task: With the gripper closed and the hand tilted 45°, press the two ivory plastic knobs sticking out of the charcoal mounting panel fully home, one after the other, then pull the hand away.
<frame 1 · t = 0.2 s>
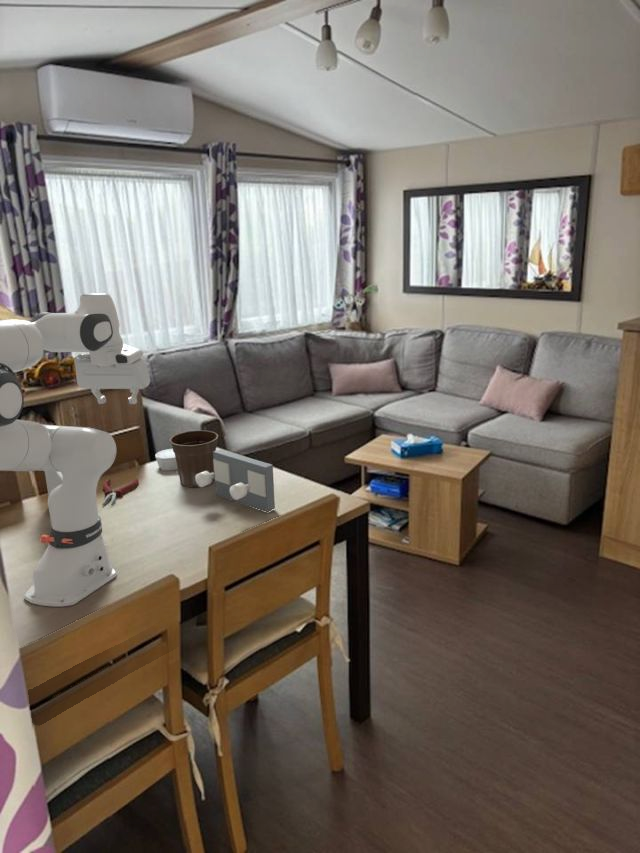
hand: (117, 403, 172), 39 cm above the table, tool pointing down, fingers open, 8 cm apart
knob left: (206, 477, 199), point 9 cm above the table, slide at 3.0 cm
knob right: (241, 489, 189), point 9 cm above the table, slide at 3.0 cm
mount: (241, 503, 201), on the table
plant pot: (197, 481, 220), on the table
pliers: (112, 495, 212), on the table
ramekin: (172, 467, 236), on the table
control panel: (69, 519, 194), on the table
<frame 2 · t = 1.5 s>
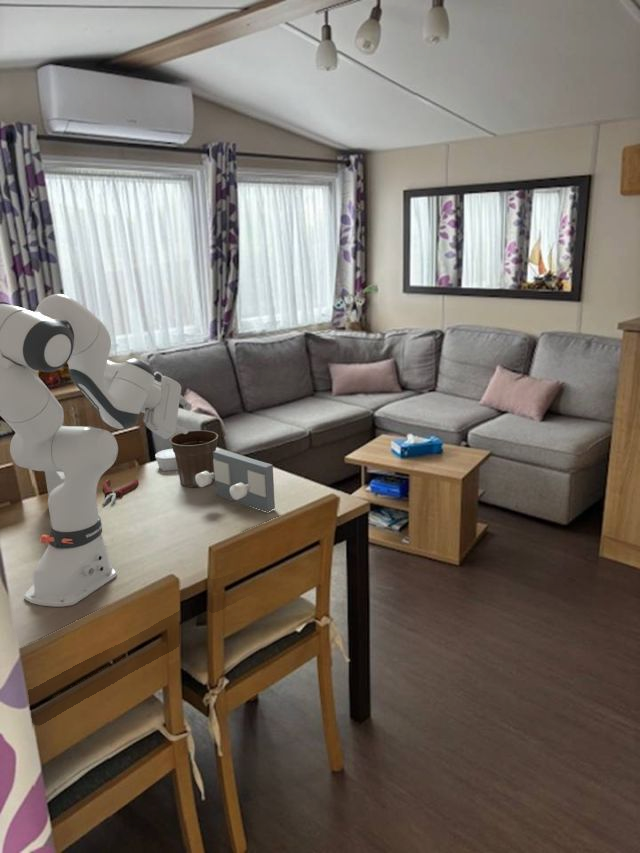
hand: (189, 419, 185), 30 cm above the table, tool tilted 55°, fingers open, 8 cm apart
nothing on the table moved.
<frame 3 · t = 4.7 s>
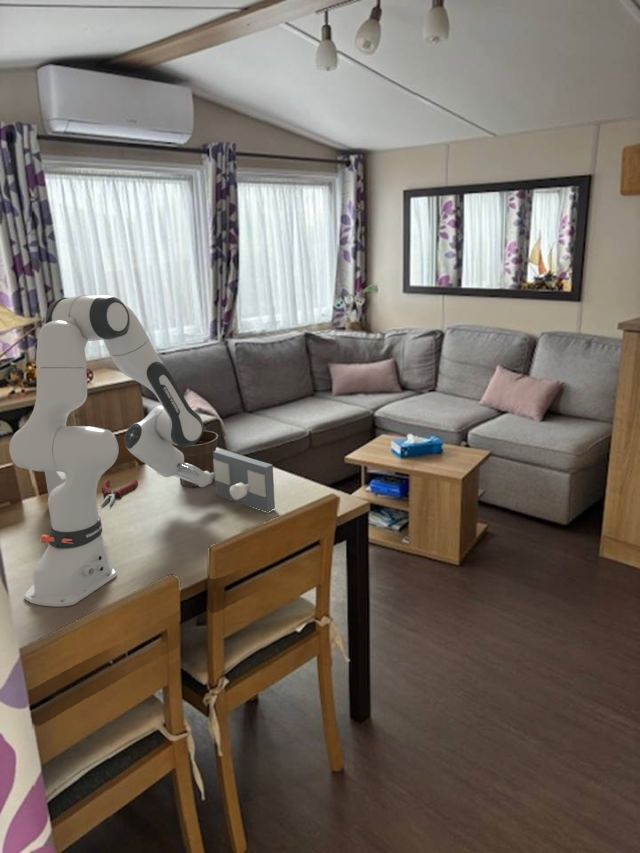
hand: (197, 482, 197), 8 cm above the table, tool tilted 45°, fingers closed, pressing on knob left
knob left: (206, 477, 199), point 9 cm above the table, slide at 2.9 cm, touching gripper
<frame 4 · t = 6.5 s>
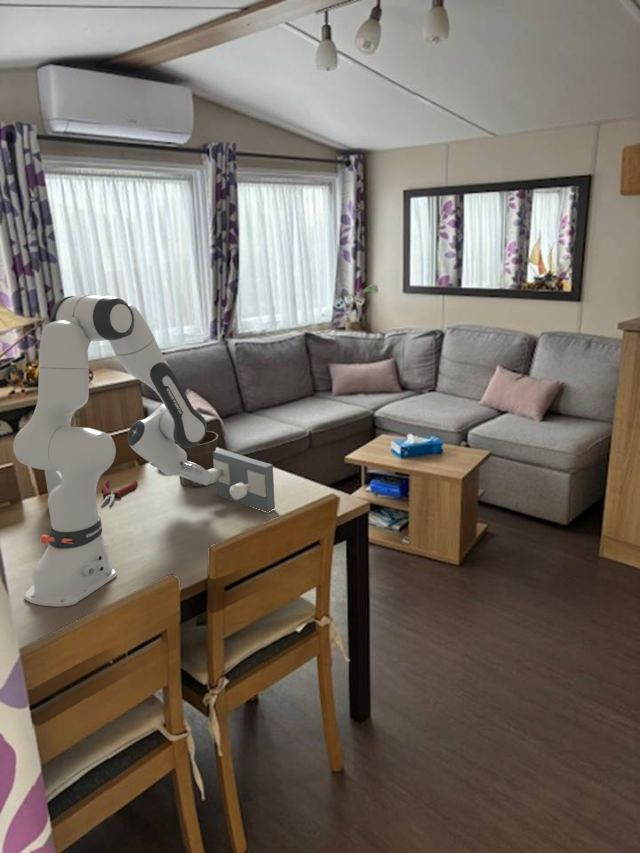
hand: (199, 481, 196), 9 cm above the table, tool tilted 45°, fingers closed
knob left: (214, 474, 201), point 9 cm above the table, slide at -0.1 cm
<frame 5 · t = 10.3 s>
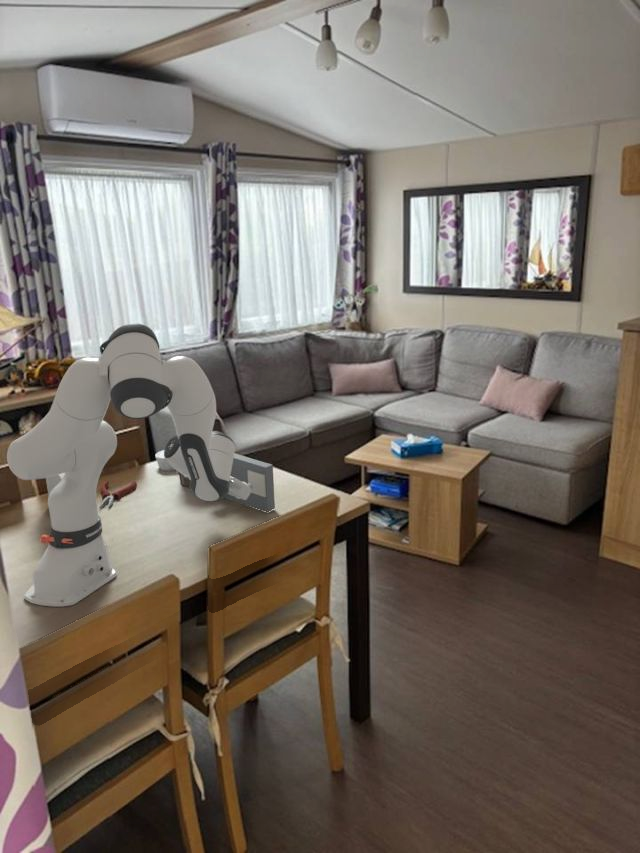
hand: (236, 494, 187), 8 cm above the table, tool tilted 45°, fingers closed, pressing on knob right
knob right: (243, 488, 189), point 9 cm above the table, slide at 2.0 cm, touching gripper
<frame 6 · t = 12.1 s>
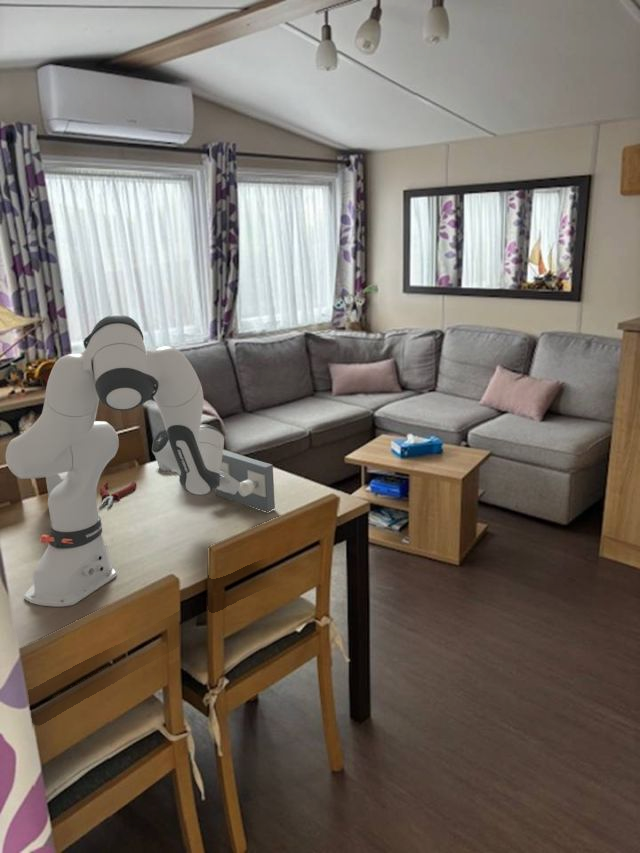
hand: (224, 489, 185), 11 cm above the table, tool tilted 45°, fingers closed
knob right: (248, 486, 191), point 9 cm above the table, slide at -0.1 cm
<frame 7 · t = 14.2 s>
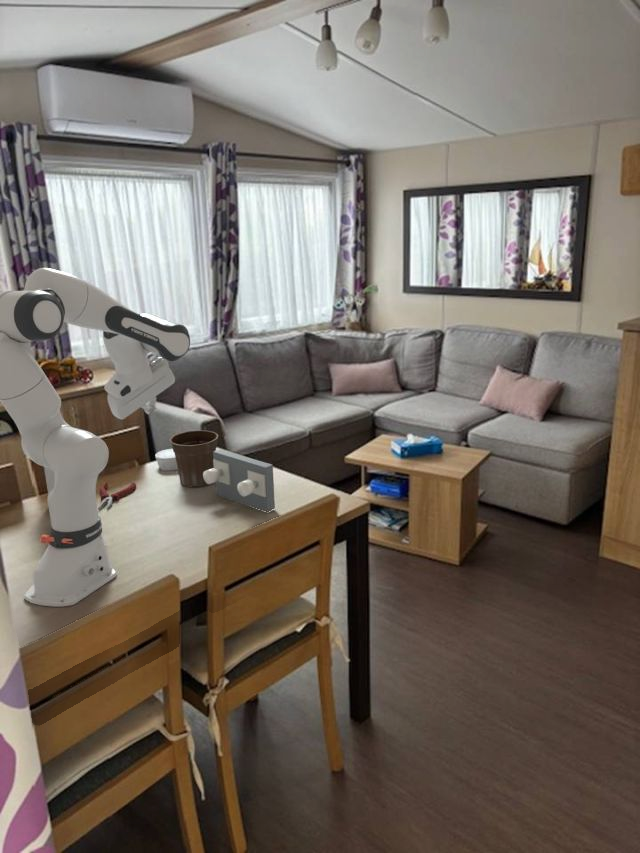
hand: (151, 411, 183), 34 cm above the table, tool tilted 25°, fingers closed
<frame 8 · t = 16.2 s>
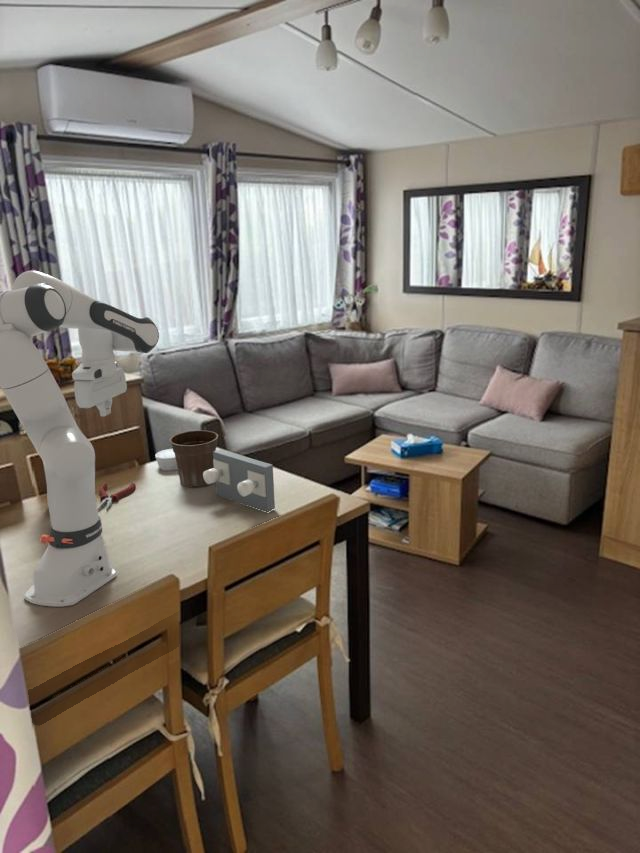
hand: (105, 415, 182), 33 cm above the table, tool pointing down, fingers closed
at the end: knob left slide at -0.1 cm; knob right slide at -0.1 cm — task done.
